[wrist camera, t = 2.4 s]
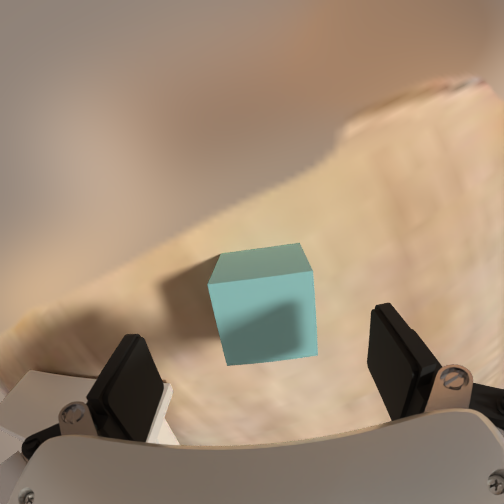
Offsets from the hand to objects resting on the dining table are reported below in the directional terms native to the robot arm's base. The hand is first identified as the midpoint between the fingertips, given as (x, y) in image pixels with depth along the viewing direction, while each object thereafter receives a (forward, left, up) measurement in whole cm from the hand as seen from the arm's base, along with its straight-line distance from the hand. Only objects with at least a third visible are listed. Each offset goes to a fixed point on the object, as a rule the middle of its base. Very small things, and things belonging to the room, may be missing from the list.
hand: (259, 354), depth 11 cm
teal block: (0, +1, -8) cm, 8 cm away
